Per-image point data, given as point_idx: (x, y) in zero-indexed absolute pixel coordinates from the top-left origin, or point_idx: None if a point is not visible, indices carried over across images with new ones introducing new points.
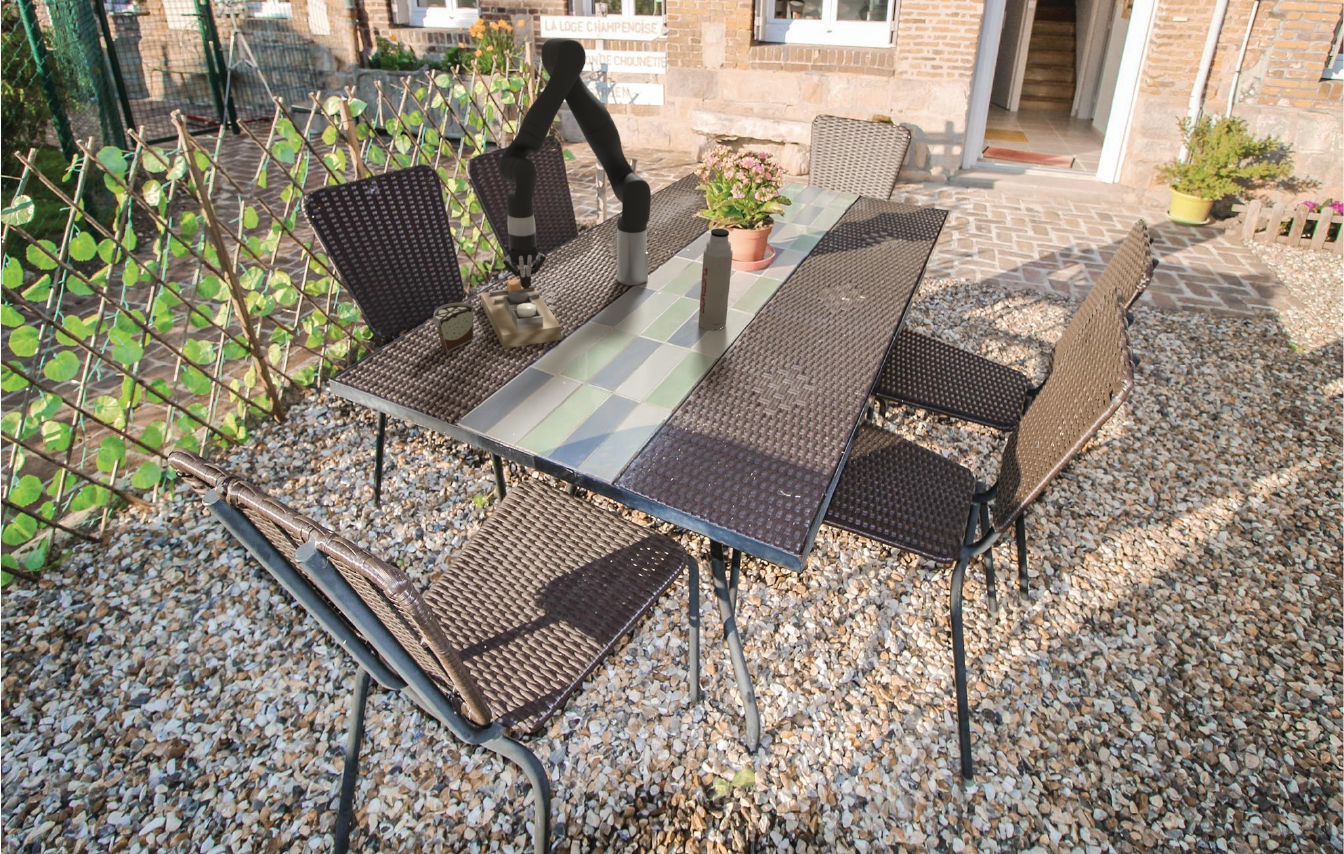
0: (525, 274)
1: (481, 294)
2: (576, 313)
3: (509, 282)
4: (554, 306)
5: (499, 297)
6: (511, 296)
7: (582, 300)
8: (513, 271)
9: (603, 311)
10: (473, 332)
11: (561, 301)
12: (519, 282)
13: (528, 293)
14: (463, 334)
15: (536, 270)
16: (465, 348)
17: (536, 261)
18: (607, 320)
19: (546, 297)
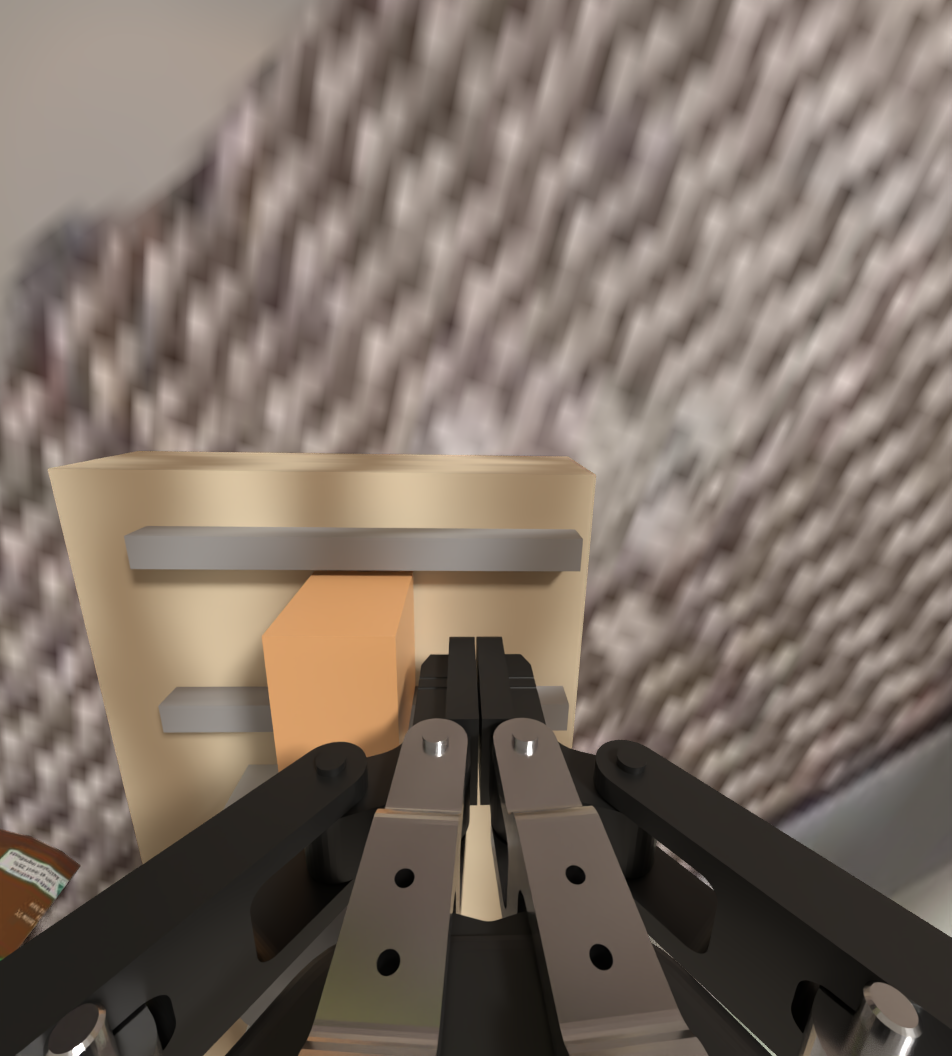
0: (490, 764)
1: (57, 502)
2: (734, 751)
3: (282, 703)
4: (651, 624)
5: (227, 613)
6: (245, 1019)
7: (869, 595)
8: (273, 925)
9: (893, 771)
10: (47, 908)
11: (730, 565)
12: (398, 734)
13: (496, 612)
14: None
15: (654, 885)
16: (37, 930)
17: (772, 943)
18: (845, 866)
19: (659, 463)
